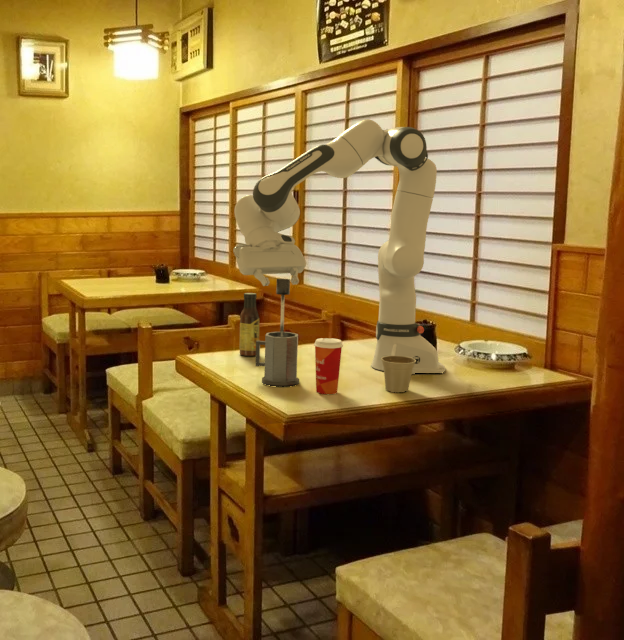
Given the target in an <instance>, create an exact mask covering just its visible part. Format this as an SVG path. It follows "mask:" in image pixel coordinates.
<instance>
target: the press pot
mask: <svg viewBox="0 0 624 640" xmlns="http://www.w3.org/2000/svg"><path fill="white" fill-rule="evenodd" d="M261 345H263V346H264V362H263V361H262V362H261V361H260V360H261V359H260V358H261ZM298 346H299V334H298V333H295V332H290V331H284V334H283V337H280V331H271V332H266V334H265V338H264V340H259V341H257V340H256V355H255V367H264V376H262V377H261V384H262V383H263V384H262V385H264V384H266V385H265V386H267V385H270V386H269V387H271V386H276V387H275V388H291V387H290V386H292V387H296V386H299V384H300V378H299V377H298V353H299V352H298V350H299V349H298V348H299V347H298ZM295 385H296V386H295Z"/></svg>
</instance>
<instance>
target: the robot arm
mask: <svg viewBox="0 0 624 640" xmlns="http://www.w3.org/2000/svg"><path fill="white" fill-rule="evenodd" d="M427 148H428V147H427V141H426V138H425V136H424V135H423V133H422V132H421V131H420V130H419V129H417V128H415V127H411V126H397V127H393V128H389V129H388V128H387V129H382V127H381V125H380V124H378V123H377V122H376V121H374V120H372V119H369V118H368V119H367V118H366V119H362V120H360V121H358V122H357V123H355V124H353V125H351V126H349V127H348V128H347V129H346V130H344V131H343V132H341V133H340V134H339V135H338V136H337V137H335V138H334V139H333V140H331V141H330V142H327V143H326V144H319V145H317V146H314V147H313V148H310V149H309V150H308V151H306V152H304V153H303V154H301V155H299V156H298V157H296V159H293V160H292V161H290V162H289V163H288V164H286V165H285V166H283V167H282V168H279V169H278V170H276V171H274V172H271V173H269V174H266V175H265V176H263V177H261V178H260V179H258V181H257V182H256V183H255V185H254V186H253V187H254V188H253V190H252V194H248V195H247V194H246V195H245V196H242V197H241V198H239V200H238V201H237V202H236V203H235V206H234V218H235V222H236V223H237V227H238V229H239V232H240V233H241V234H242V236H243V237H244V242H245V244H244V245H243V244H242V245H241V244H238V245H235V246H234V248H233V250H232V251H233V254H234V256H235V258H236V263H237V264H236V265H237V268H238V269H239V273H241V274H242V275H243V276H254V278H255V279H256V280H258V281H259V282H260V283H261V286H263V287H265V286H269V285H270V283H271V281H270V279H269V277H267V276H265V275H277V274H279V275H280V274H281V275H282V274H283V275H284V274H290V276H291V278H290V283H291V285H298V284H299V283H300V279H299V274H301V273H302V272H303V271H304V270H305V268H306V267H307V261H306V258H305V256H304V255H303V253H302V250H301V249H300V248H299V247H298V246H297V245H296V244H295V243H296V240H295V238H294V237H293V236H290V235H285V234H283V233H280V232H282V231H284V230H287V229H290V228H292V227H293V226H294V225H296V223H297V222H298V220H299V219H300V216H301V209H300V206H299V203H298V202H297V200H296V199H295V197H294V195H293V193H292V191H293V190H294V188H295V187H296V186H298V185H299V184H301V183H303V181H305V180H307V179H309V178H310V177H311V176H313V175H315V174H316V173H319V172H320V173H321V172H324V173H326V174H327V175H329V176H331V177H334V178H338V179H346V178H348V177H350V176H352V175H354V174H355V173H356V172H358V170H360V169H362V167H364V165H366V164H367V163H368V162H370V160H372V159H376V160H377V161H378V162H379V163H381V164H383V165H385V166H393V167H397V168H398V169H397V170H398V173H399V174H398V175H399V178H398V179H399V181H398V183H397V184H398V185H397V188H396V193H395V196H394V201H393V205H392V209H391V213H390V226H389V227H390V228H389V238H388V240H387V241H385V242H384V243H382V244H381V246H380V248H379V249H378V252H377V264H378V265H377V266H378V267H377V268H378V269H377V271H378V275H377V276H378V291H379V301H378V302H379V304H378V320H377V322H376V325H375V327H376V328H375V337H376V338H375V339H376V346H375V350H374V354H373V357H372V362H371V365H370V367H371V368H373V369H375V370H378V371H383V372H384V366H383V363H382V360H381V358H382V357H385V356H405V357H410V358H413V359H415V360H416V362H415V363H414V367H413V369H412V374H411V375H416V374H415V373H442V372H444V371H445V372H446V367H445V365H444V364H443V363H441V362H440V361H439V355H438V351H437V349H436V347H435V346H433V344H432V343H430V342H429V341H428V340H427V339H426V338H424V337H423V336H422V334H423V333H424V331H425V329H424V327H423V326H422V325H421V324H419V323H417V322H416V308H417V295H416V286H415V276H418V274H420V273H421V271H422V269H423V267H424V263H425V262H424V261H425V258H424V257H425V256H424V255H425V249H426V240H427V239H426V238H427V228H428V223H429V217H430V213H431V209H432V205H433V200H434V196H435V190H436V183H437V166H436V164H435V162H433V160H431V159H429V153H428V150H427ZM445 372H444V373H445ZM442 374H443V373H442Z"/></svg>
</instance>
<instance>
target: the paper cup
mask: <svg viewBox="0 0 624 640" xmlns="http://www.w3.org/2000/svg"><path fill="white" fill-rule="evenodd" d="M313 346H314V354H315V355H314V359H315V360H314V363H315V391H316V393H318V394H320V395H327V394H329V395H335V393H336V394H337V393H338V388H339V379H340V378H339V377H340V368H341V359H342V348H343V346H344V345H343V343H342V340H341V339H338V338H332V337H331V338H327V337H325V338H322V337H321V338H317V339H315V342H314V344H313Z"/></svg>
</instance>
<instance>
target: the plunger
mask: <svg viewBox="0 0 624 640" xmlns="http://www.w3.org/2000/svg"><path fill="white" fill-rule="evenodd" d="M290 280H291V278H276V290H275V294H276V295H279V296H280V295H281V296H280V325H279V327H280V328H279V332H280V337H283V334H284V332H285V331H284V327H285V296H287V295H288V296H289V295H290V294H291V293H290V289H291V281H290Z"/></svg>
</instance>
